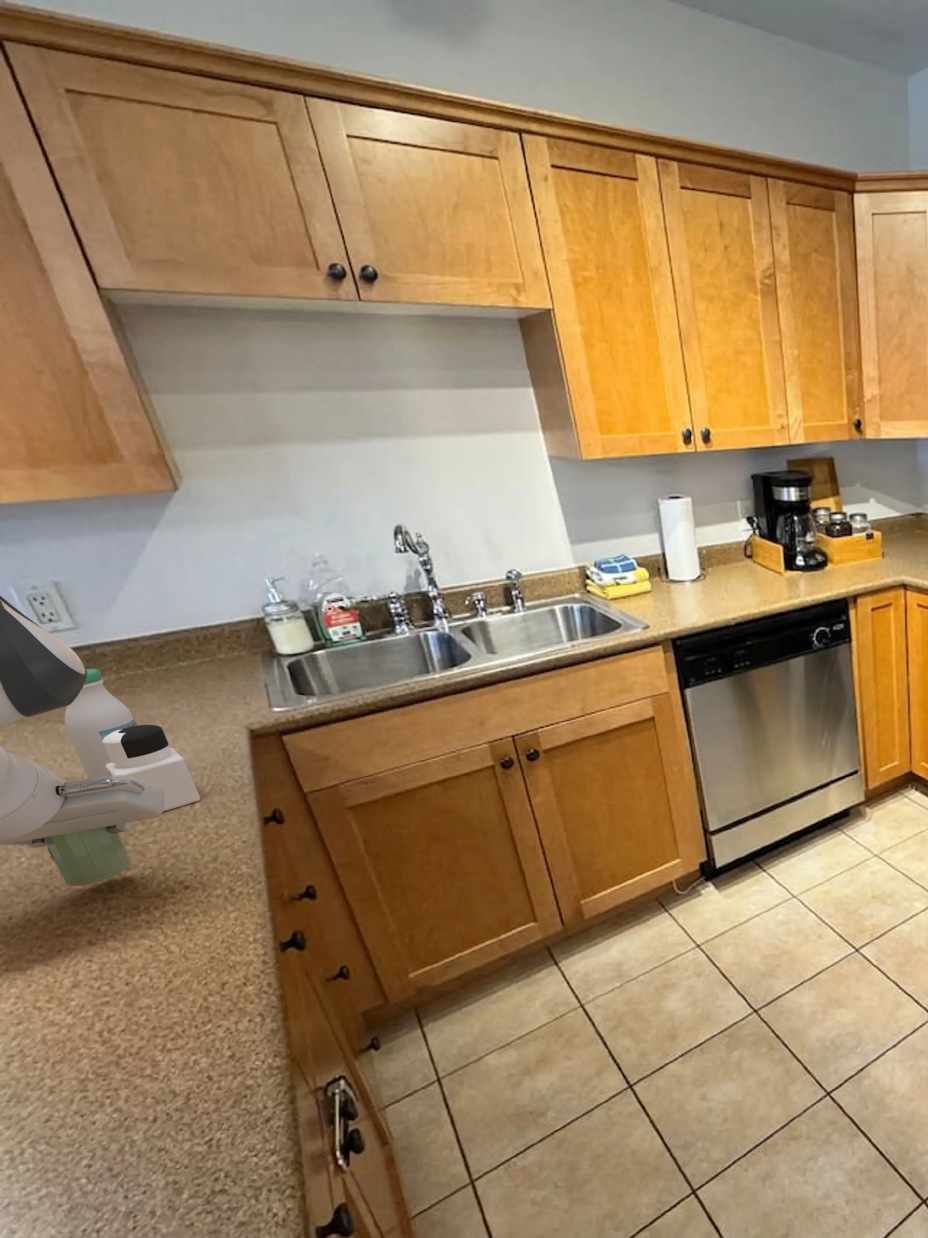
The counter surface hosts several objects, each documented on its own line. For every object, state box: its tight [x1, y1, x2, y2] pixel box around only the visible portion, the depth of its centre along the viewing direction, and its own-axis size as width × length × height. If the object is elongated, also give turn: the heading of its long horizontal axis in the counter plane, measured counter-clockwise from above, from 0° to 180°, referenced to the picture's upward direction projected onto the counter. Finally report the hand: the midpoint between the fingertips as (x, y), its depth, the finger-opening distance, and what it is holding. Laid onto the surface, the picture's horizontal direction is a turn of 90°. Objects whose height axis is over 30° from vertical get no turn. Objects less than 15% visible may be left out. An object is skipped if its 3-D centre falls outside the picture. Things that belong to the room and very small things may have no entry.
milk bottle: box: [64, 668, 138, 779], centre depth 121 cm, size 8×8×20 cm
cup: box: [42, 826, 133, 887], centre depth 93 cm, size 6×6×10 cm
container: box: [102, 724, 201, 813], centre depth 115 cm, size 8×8×13 cm
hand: (84, 833), depth 93 cm, fingers closed on cup, 6 cm apart
